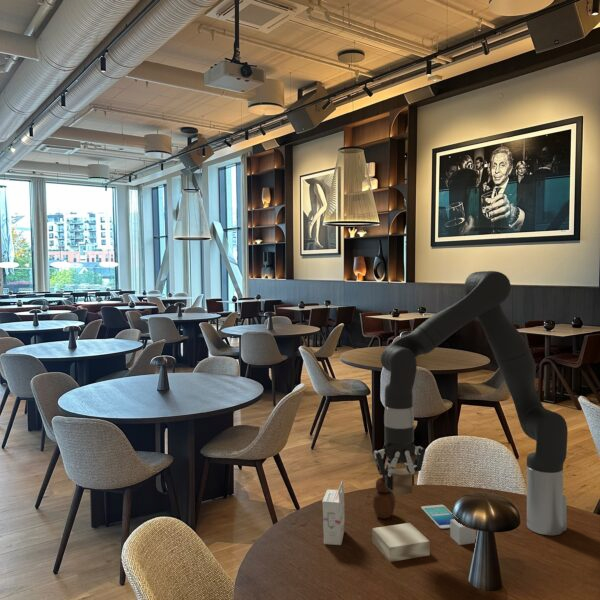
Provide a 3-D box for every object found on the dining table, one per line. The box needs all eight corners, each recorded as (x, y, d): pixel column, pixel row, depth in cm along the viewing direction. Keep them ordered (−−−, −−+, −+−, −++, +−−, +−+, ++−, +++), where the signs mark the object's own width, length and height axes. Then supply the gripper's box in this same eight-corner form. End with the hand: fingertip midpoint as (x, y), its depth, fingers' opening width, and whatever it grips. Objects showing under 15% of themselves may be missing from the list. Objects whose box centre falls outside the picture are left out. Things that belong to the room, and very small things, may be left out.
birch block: (409, 537, 149) (409, 522, 149) (429, 556, 138) (429, 541, 138) (372, 542, 146) (372, 528, 146) (389, 563, 135) (389, 547, 135)
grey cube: (466, 534, 149) (466, 517, 149) (475, 543, 144) (475, 525, 144) (450, 536, 148) (450, 519, 148) (459, 545, 143) (459, 527, 143)
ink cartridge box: (327, 529, 153) (326, 478, 153) (345, 531, 152) (344, 479, 152) (322, 544, 145) (321, 490, 144) (341, 546, 144) (340, 491, 143)
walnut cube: (404, 486, 144) (404, 468, 144) (412, 493, 140) (412, 474, 140) (387, 488, 143) (387, 470, 143) (394, 495, 139) (394, 476, 139)
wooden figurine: (380, 509, 166) (379, 461, 165) (398, 514, 162) (397, 464, 162) (369, 517, 160) (369, 467, 160) (387, 522, 157) (387, 471, 156)
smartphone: (443, 504, 168) (465, 525, 153) (443, 507, 168) (465, 528, 153) (420, 506, 167) (440, 528, 152) (420, 509, 167) (440, 531, 152)
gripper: (418, 417, 146) (419, 480, 147) (367, 421, 143) (368, 485, 144) (431, 425, 139) (431, 490, 140) (378, 429, 136) (378, 496, 136)
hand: (399, 488), depth 142 cm, fingers closed on walnut cube, 4 cm apart
